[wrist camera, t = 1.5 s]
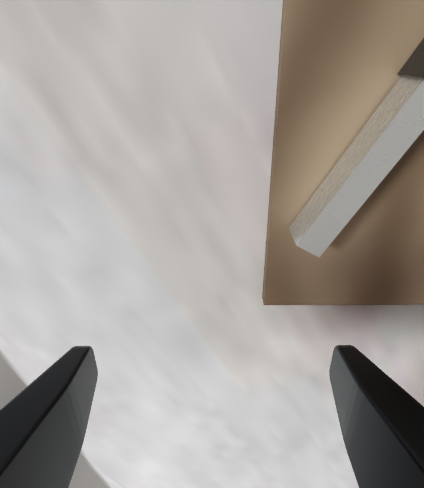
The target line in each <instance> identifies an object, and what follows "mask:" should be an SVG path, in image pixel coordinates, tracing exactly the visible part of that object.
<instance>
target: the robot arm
mask: <svg viewBox="0 0 424 488" xmlns="http://www.w3.org/2000/svg"><path fill="white" fill-rule="evenodd" d="M97 376H98V371H97V366H96V361H95V356H94V352H93V349H92V347H90V346H75V347H73V348H71V349H70V350H69V351H68V352H67V353H66V354H64V355H63V356H62V357H61V358H60V359H59V360H58V361H56V362H55V363H54V364H53V365H52V366H51V367H49V368H48V369H47V370H46V371H45V372H44V373H43V374H41V375H40V376H39V377H38V378H37V379H36V380H34V381H33V382H32V383H31V384H30V385H29V386H27V387H26V388H25V389H24V390H23V391H22V392H21V393H20V394H18V395H17V396H16V397H15V398H14V399H12V400H11V401H10V402H9V403H8V404H7V405H6V406H4V407H3V408H2V409H1V410H0V488H68V487H69V484H70V481H71V478H72V475H73V472H74V469H75V466H76V463H77V460H78V457H79V454H80V451H81V448H82V444H83V441H84V437H85V433H86V428H87V424H88V419H89V415H90V410H91V405H92V401H93V396H94V392H95V387H96V382H97ZM330 381H331V385H332V390H333V395H334V399H335V404H336V408H337V413H338V417H339V422H340V426H341V431H342V435H343V439H344V443H345V446H346V450H347V453H348V456H349V459H350V462H351V465H352V468H353V471H354V474H355V477H356V480H357V483H358V486H359V488H424V407H423V406H422V405H421V404H420V403H419V402H418V401H416V400H415V399H414V398H413V397H412V396H411V395H409V394H408V393H407V392H406V391H405V390H404V389H403V388H401V387H400V386H399V385H398V384H397V383H396V382H394V381H393V380H392V379H391V378H390V377H389V376H387V375H386V374H385V373H384V372H383V371H382V370H381V369H379V368H378V367H377V366H376V365H375V364H374V363H372V362H371V361H370V360H369V359H368V358H367V357H366V356H364V355H363V354H362V353H361V352H360V351H359V350H357V349H356V348H355V347H354V346H351V345H338V346H336V347H335V348H334V351H333V356H332V361H331V366H330Z"/></svg>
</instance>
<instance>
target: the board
mask: <svg viewBox="0 0 424 488" xmlns="http://www.w3.org/2000/svg"><path fill="white" fill-rule="evenodd" d="M423 38H424V0H283V11H282V25H281V39H280V53H279V68H278V82H277V96H276V110H275V125H274V139H273V153H272V167H271V182H270V196H269V210H268V224H267V239H266V253H265V267H264V281H263V296H262V298H263V303H264V305H407V304H424V130H423V131H422V133H421V134H420V135H419V136H418V138H417V139H416V140H415V141H414V142H413V144H412V145H411V146H410V147H409V149H408V150H407V151H406V152H405V153H404V155H403V156H402V157H401V158H400V160H399V161H398V162H397V163H396V164H395V166H394V167H393V168H392V169H391V171H390V172H389V173H388V174H387V175H386V177H385V178H384V179H383V180H382V182H381V183H380V184H379V185H378V186H377V188H376V189H375V190H374V191H373V193H372V194H371V195H370V196H369V197H368V199H367V200H366V201H365V202H364V204H363V205H362V206H361V207H360V208H359V210H358V211H357V212H356V213H355V215H354V216H353V217H352V218H351V219H350V221H349V222H348V223H347V224H346V226H345V227H344V228H343V229H342V230H341V232H340V233H339V234H338V235H337V237H336V238H335V239H334V240H333V241H332V243H331V244H330V245H329V246H328V248H327V249H326V250H325V251H324V252H323V254H322V255H321V256H320V257H317V256H315V255H313V254H311V253H309V252H308V251H306V250H304V249H302V248H300V247H298V246H296V244H295V241H294V239H293V237H292V234H291V232H290V229H289V227H290V226H291V224H292V223H293V221H294V220H295V219H296V217H297V216H298V215H299V213H300V212H301V211H302V209H303V208H304V207H305V205H306V204H307V203H308V201H309V200H310V198H311V197H312V196H313V194H314V193H315V192H316V190H317V189H318V188H319V186H320V185H321V184H322V182H323V181H324V180H325V178H326V177H327V175H328V174H329V173H330V171H331V170H332V169H333V167H334V166H335V165H336V163H337V162H338V161H339V159H340V158H341V157H342V155H343V154H344V152H345V151H346V150H347V148H348V147H349V146H350V144H351V143H352V142H353V140H354V139H355V138H356V136H357V135H358V134H359V132H360V131H361V129H362V128H363V127H364V125H365V124H366V123H367V121H368V120H369V119H370V117H371V116H372V115H373V113H374V112H375V111H376V109H377V108H378V106H379V105H380V104H381V102H382V101H383V100H384V98H385V97H386V96H387V94H388V93H389V92H390V90H391V89H392V88H393V86H394V85H395V83H396V82H397V81H398V79H399V78H400V76H399V75H397V74H398V72H399V71H400V70H401V68H402V67H403V65H404V64H405V63H406V61H407V60H408V59H409V57H410V56H411V55H412V53H413V52H414V50H415V49H416V48H417V46H418V45H419V44H420V42H421V41H422V40H423Z"/></svg>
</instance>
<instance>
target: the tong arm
mask: <svg viewBox="0 0 424 488" xmlns="http://www.w3.org/2000/svg"><path fill="white" fill-rule="evenodd" d="M397 75H399V76H400V78H399V79H398V81H397V82H396V83H395V85H394V86H393V88H392V89H391V90H390V92H389V93H388V94H387V96H386V97H385V98H384V100H383V101H382V102H381V104H380V105H379V106H378V108H377V109H376V111H375V112H374V113H373V115H372V116H371V117H370V119H369V120H368V121H367V123H366V124H365V125H364V127H363V128H362V129H361V131H360V132H359V134H358V135H357V136H356V138H355V139H354V140H353V142H352V143H351V144H350V146H349V147H348V148H347V150H346V151H345V152H344V154H343V155H342V157H341V158H340V159H339V161H338V162H337V163H336V165H335V166H334V167H333V169H332V170H331V171H330V173H329V174H328V175H327V177H326V178H325V180H324V181H323V182H322V184H321V185H320V186H319V188H318V189H317V190H316V192H315V193H314V194H313V196H312V197H311V198H310V200H309V201H308V203H307V204H306V205H305V207H304V208H303V209H302V211H301V212H300V213H299V215H298V216H297V217H296V219H295V220H294V221H293V223H292V224H291V226H290V227H289V229H290V232H291V234H292V237H293V239H294V241H295V244H296V246H298V247H300V248H302V249H304V250H306V251H308V252H309V253H311V254H313V255H315V256H317V257H320V256H321V255H322V254H323V252H324V251H325V250H326V249H327V248H328V246H329V245H330V244H331V243H332V241H333V240H334V239H335V238H336V237H337V235H338V234H339V233H340V232H341V230H342V229H343V228H344V227H345V226H346V224H347V223H348V222H349V221H350V219H351V218H352V217H353V216H354V215H355V213H356V212H357V211H358V210H359V208H360V207H361V206H362V205H363V204H364V202H365V201H366V200H367V199H368V197H369V196H370V195H371V194H372V193H373V191H374V190H375V189H376V188H377V186H378V185H379V184H380V183H381V182H382V180H383V179H384V178H385V177H386V175H387V174H388V173H389V172H390V171H391V169H392V168H393V167H394V166H395V164H396V163H397V162H398V161H399V160H400V158H401V157H402V156H403V155H404V153H405V152H406V151H407V150H408V149H409V147H410V146H411V145H412V144H413V142H414V141H415V140H416V139H417V138H418V136H419V135H420V134H421V133H422V131H423V130H424V38H423V40H422V41H421V42H420V44H419V45H418V46H417V48H416V49H415V50H414V52H413V53H412V55H411V56H410V57H409V59H408V60H407V61H406V63H405V64H404V65H403V67H402V68H401V70H400V71H399V72H398V74H397Z"/></svg>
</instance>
